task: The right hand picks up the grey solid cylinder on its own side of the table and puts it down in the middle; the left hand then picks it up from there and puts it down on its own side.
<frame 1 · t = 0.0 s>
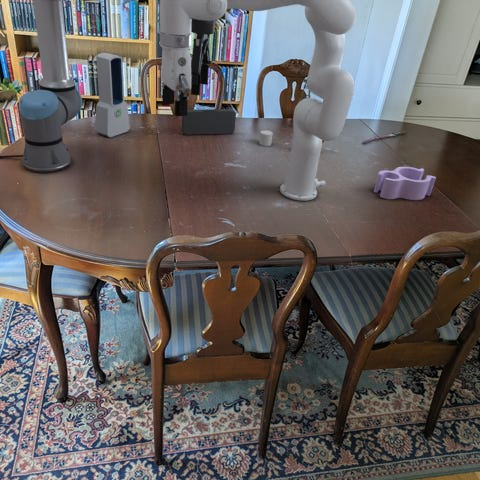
left hand: (199, 89, 153), 28 cm above the table, tool pointing down, fingers open, 13 cm apart
right hand: (174, 109, 123), 31 cm above the table, tool pointing down, fingers open, 9 cm apart
sword: (384, 139, 213), on the table
grey solid cylinder: (265, 143, 195), on the table
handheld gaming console: (208, 133, 198), on the table
lion figurine: (308, 150, 193), on the table
clip: (400, 192, 166), on the table
miniature windmill: (300, 125, 219), on the table
electronic device: (112, 132, 189), on the table
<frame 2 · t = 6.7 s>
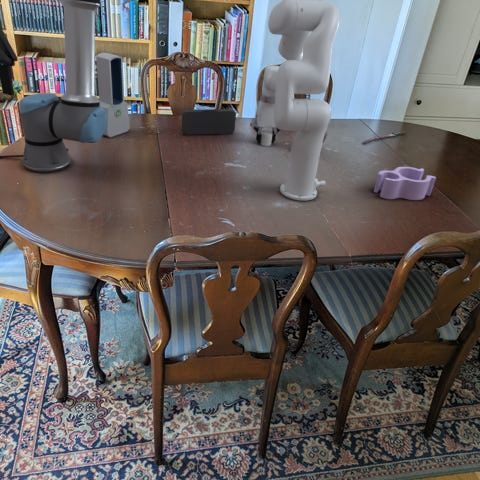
right hand: (265, 141, 194), 1 cm above the table, tool pointing down, fingers closed on grey solid cylinder, 5 cm apart
grey solid cylinder: (265, 143, 195), on the table, touching right hand
everything else where it was.
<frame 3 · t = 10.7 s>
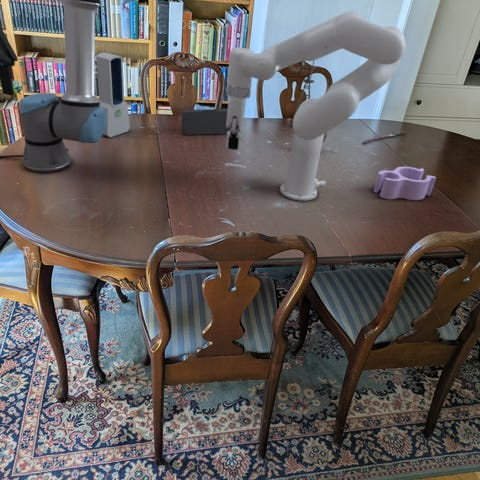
right hand: (233, 145, 156), 13 cm above the table, tool pointing down, fingers closed on grey solid cylinder, 5 cm apart
grey solid cylinder: (233, 146, 156), point 12 cm above the table, touching right hand
everything else where it was.
when the right hand's fingers open (2 cm above the table, at t = 15.1 s): grey solid cylinder stays where it is, on the table.
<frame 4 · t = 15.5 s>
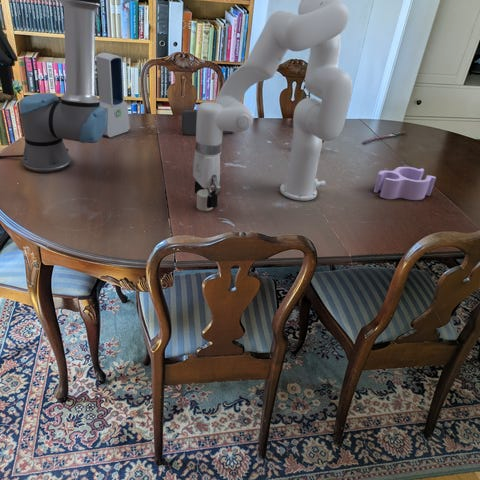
right hand: (205, 199, 143), 3 cm above the table, tool pointing down, fingers open, 9 cm apart
grey solid cylinder: (204, 207, 145), on the table
everything else where it was.
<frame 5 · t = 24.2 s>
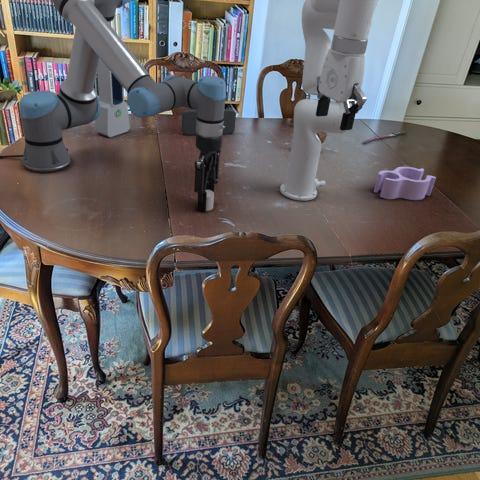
left hand: (205, 206, 144), 0 cm above the table, tool pointing down, fingers closed on grey solid cylinder, 5 cm apart
right hand: (333, 122, 110), 36 cm above the table, tool pointing down, fingers open, 9 cm apart
grey solid cylinder: (204, 206, 145), on the table, touching left hand
everything else where it was.
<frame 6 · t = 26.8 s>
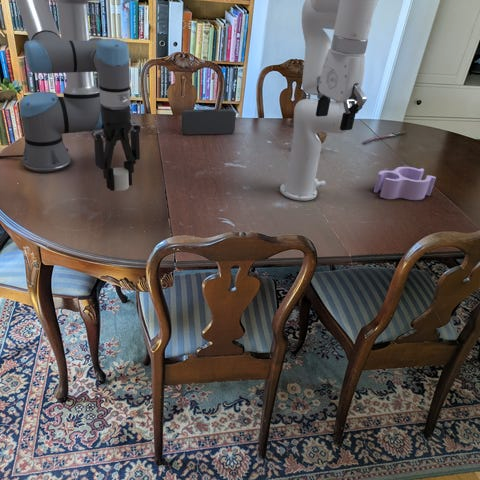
left hand: (119, 186, 132), 9 cm above the table, tool pointing down, fingers closed on grey solid cylinder, 5 cm apart
right hand: (333, 122, 110), 36 cm above the table, tool pointing down, fingers open, 9 cm apart
grey solid cylinder: (119, 186, 132), point 9 cm above the table, touching left hand
everything else where it was.
when the left hand's fingers open (1 cm above the table, at t = 29.4 s): grey solid cylinder stays where it is, on the table.
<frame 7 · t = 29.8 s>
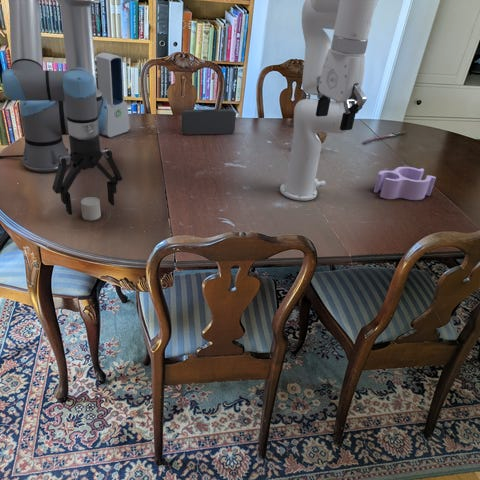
left hand: (90, 208, 133), 3 cm above the table, tool pointing down, fingers open, 11 cm apart
right hand: (333, 122, 110), 36 cm above the table, tool pointing down, fingers open, 9 cm apart
grey solid cylinder: (91, 215, 134), on the table
everything else where it was.
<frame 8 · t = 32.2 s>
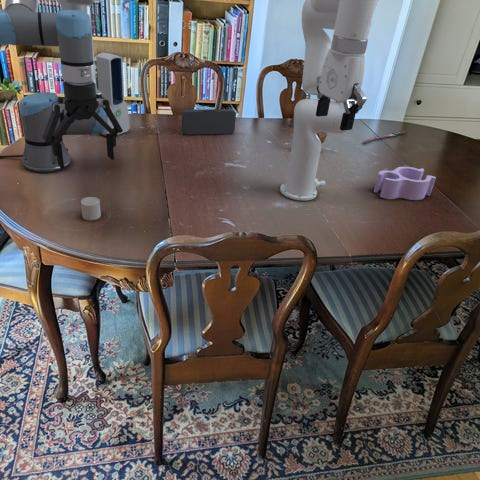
left hand: (86, 162, 125), 17 cm above the table, tool pointing down, fingers open, 13 cm apart
right hand: (333, 122, 110), 36 cm above the table, tool pointing down, fingers open, 9 cm apart
nothing on the table moved.
at the end: grey solid cylinder inside the target area (0.1 cm from its centre), on the table; grey solid cylinder tilted 0°; the two hands never held the grey solid cylinder at the same time; the left hand is holding nothing; the right hand is holding nothing; grey solid cylinder at rest at the end (0.0 cm/s) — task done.
